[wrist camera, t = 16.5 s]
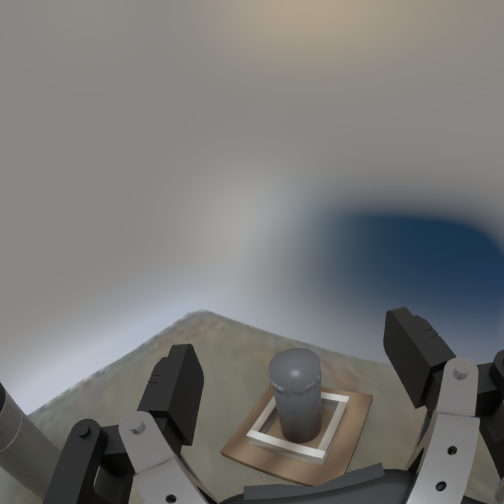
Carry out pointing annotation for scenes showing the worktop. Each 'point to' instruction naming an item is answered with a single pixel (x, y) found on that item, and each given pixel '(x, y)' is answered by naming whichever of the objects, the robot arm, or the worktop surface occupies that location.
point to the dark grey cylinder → (297, 393)
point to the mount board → (301, 454)
